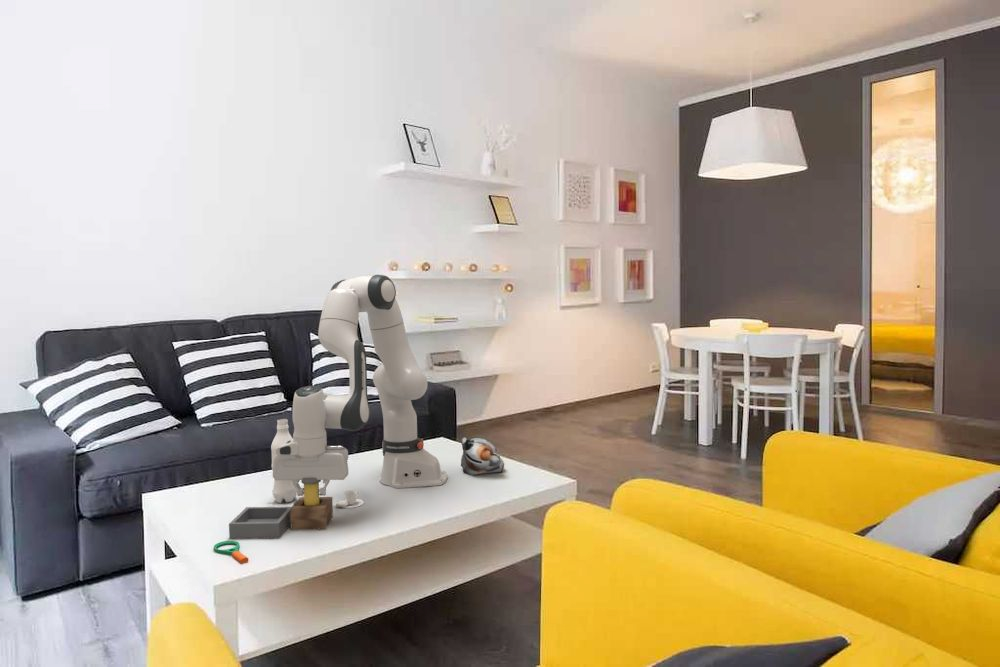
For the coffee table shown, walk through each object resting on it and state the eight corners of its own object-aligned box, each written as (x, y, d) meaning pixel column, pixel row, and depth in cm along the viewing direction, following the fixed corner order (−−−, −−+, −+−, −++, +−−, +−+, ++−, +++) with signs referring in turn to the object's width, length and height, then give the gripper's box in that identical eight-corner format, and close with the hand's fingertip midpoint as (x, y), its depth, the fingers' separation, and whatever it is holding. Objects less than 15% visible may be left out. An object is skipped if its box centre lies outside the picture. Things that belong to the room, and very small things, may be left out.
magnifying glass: (209, 549, 174) (209, 542, 174) (233, 543, 178) (233, 536, 178) (232, 568, 163) (231, 561, 163) (257, 561, 167) (257, 554, 167)
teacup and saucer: (336, 511, 202) (336, 497, 202) (332, 503, 209) (331, 490, 209) (366, 507, 205) (366, 493, 205) (360, 499, 213) (360, 486, 212)
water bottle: (290, 495, 216) (287, 416, 214) (301, 500, 211) (299, 420, 208) (268, 500, 211) (265, 420, 209) (279, 506, 206) (276, 423, 203)
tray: (293, 520, 193) (292, 506, 193) (279, 538, 180) (278, 523, 180) (246, 521, 193) (246, 507, 193) (229, 538, 180) (228, 523, 180)
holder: (332, 517, 196) (332, 496, 195) (325, 529, 186) (324, 507, 186) (300, 517, 195) (299, 497, 195) (291, 529, 186) (290, 508, 186)
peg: (324, 520, 193) (322, 473, 192) (319, 526, 188) (318, 478, 187) (305, 520, 193) (304, 473, 192) (300, 527, 188) (299, 478, 187)
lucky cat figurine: (512, 469, 243) (512, 436, 234) (489, 492, 234) (489, 459, 225) (475, 449, 251) (474, 417, 242) (451, 471, 242) (449, 438, 233)
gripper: (350, 442, 192) (351, 491, 193) (276, 443, 192) (278, 491, 193) (345, 448, 186) (346, 498, 187) (269, 449, 186) (271, 499, 187)
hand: (311, 494), depth 190 cm, fingers closed on peg, 5 cm apart
